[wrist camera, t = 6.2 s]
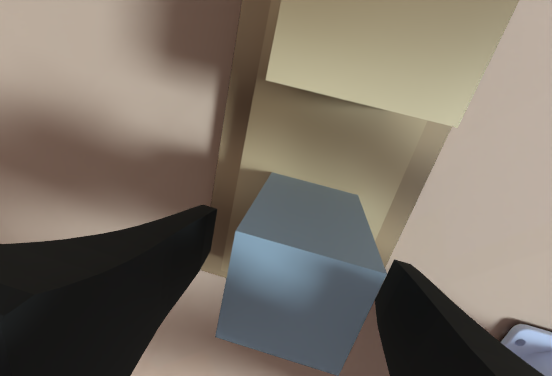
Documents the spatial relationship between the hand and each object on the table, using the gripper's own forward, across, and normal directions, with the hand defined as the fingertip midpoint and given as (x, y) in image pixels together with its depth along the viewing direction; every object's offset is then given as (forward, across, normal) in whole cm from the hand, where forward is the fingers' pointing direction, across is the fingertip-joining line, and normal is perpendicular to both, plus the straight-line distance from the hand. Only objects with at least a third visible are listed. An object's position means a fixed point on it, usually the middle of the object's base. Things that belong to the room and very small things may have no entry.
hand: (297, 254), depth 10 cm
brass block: (+2, 0, -8) cm, 8 cm away
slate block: (+2, 0, 0) cm, 2 cm away
